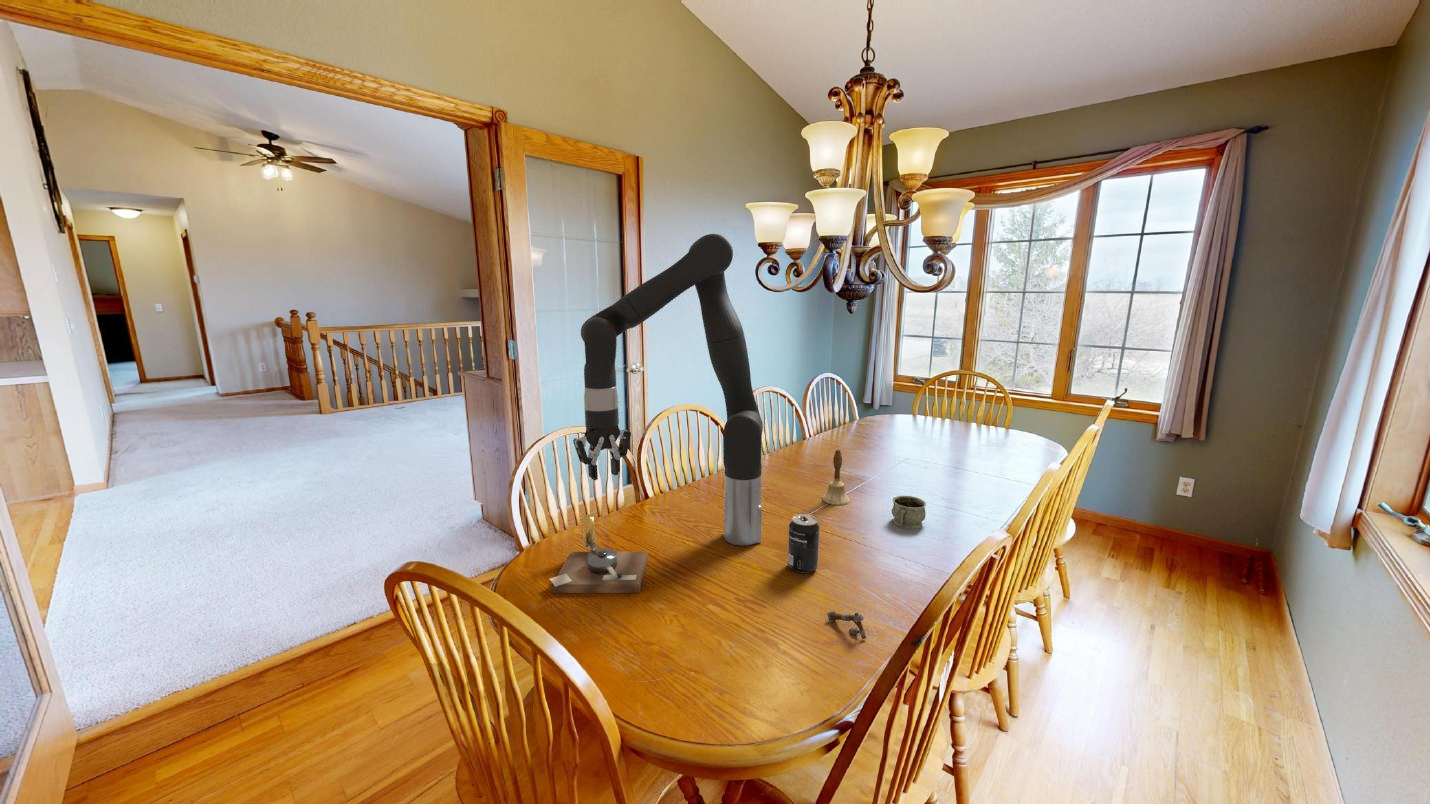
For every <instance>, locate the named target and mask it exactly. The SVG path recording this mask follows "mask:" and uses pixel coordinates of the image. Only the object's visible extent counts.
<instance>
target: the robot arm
mask: <svg viewBox="0 0 1430 804" xmlns="http://www.w3.org/2000/svg"><path fill="white" fill-rule="evenodd" d="M688 249H689V250H688V252H687V253H686V254H685V255H684V256H683V257H682V258H680V259H679V260H677V261H676V262H675V263H674V264H672V265H670V266H669V267H668V268H666V269H665V270H663V271H662V272H660V273H658V274H657V275H655V276H654V277H652V278H650V279H648V280H647V281H645V282H643V283H641V284H640V285H638V286H637V287H635V288H634V289H632V290H631V291H630V292H628V293H626V294H625V295H623V296H622V297H621V298H619V299H618V300H617V301H616V302H614V303H613V304H612V305H610V306H608V307H606V308H604V309H602V310H600V311H599V312H597V313H596V314H594V315H592V316H590V317H589V318H588V319H587V320H586V321H584V322H583V324H582V325H581V328H580V337H581V340H582V341H583V343H584V354H585V364H584V367H583V376H584V377H583V378H584V379H583V380H584V394H583V402H584V420H585V421H584V425H585V433H584V436H581V437H579V438H577V437H575V438H573V441H572V443H573V446H574V448H575V451H576V454H577V458H578V461H579V462H581V463H583V464H584V465H587V468H588V469H587V470H588V477H589V478H590V479H591V480H593V481H598V478H599V477H598V476H599V475H598V464H597V461H598V457H599V456H600V453H601V451H603V450H605V449H606V450H607V451H608V452H609V455H610V456H611V458H610V472H611V475H613V476H618V475H619V473H620V471H621V465H620V463H621V461H620V460H621V458H623V457H626V456H627V455H628V450H629V446H630V440H631V436H632V432H631V431H630V430H626V429H622V430H621V429H620V428H619V424H620V418H619V395H618V394H619V393H618V390H617V373H616V371H617V370H616V357H617V341H618V340H617V337H619V336H620V335H621V334H623V333H624V332H626V331H627V330H630V329H633V328H637V326H639V325H641V324H642V323H644V322H645V321H646V320H648V319H649V318H650V317H652V316H653V315H655V314H657V312H659V311H660V310H661V309H663V308H665V306H667V305H668V304H669V303H671V302H672V301H673V300H675V299H676V298H677V297H679V296H680V295H681V294H683V293H684V292H686V291H687V290H689V289H691V288H692V287H693V286H694V288H695V290H696V294H697V296H698V299H699V305H700V306H699V307H700V311H701V318H702V323H703V324H702V325H703V328H704V334H705V339H706V340H705V341H706V345H707V350H708V354H709V358H710V359H709V360H710V362H711V363H710V364H711V365H712V368H713V371H714V373H715V375H716V378H717V380H718V383H719V384H720V387H721V389H722V394H723V397H724V402H725V409H726V423H725V424H724V425H723V433H722V434H723V437H722V442H723V443H722V444H723V445H722V448H723V454H722V455H723V467H724V494H723V495H724V500H723V502H724V505H723V506H724V511H723V527H724V528H723V532H724V534H723V538H724V540H725V541H726V542H727V543H729V544H731V545H736V546H740V547H741V546H751V545H754V544H759V543H760V544H761V543H762V517H763V516H762V515H763V513H762V512H763V510H762V509H763V506H762V471H763V470H762V466H763V465H762V438H763V437H762V436H763V431H764V430H763V429H764V426H763V425H764V424H763V420H762V417H761V415H760V414H761V413H760V411H759V409H758V404H757V402H756V397H755V393H754V391H753V386H752V380H751V379H752V378H751V377H752V376H751V368H750V358H749V353H748V347H747V342H746V337H745V333H744V329H743V325H742V322H741V321H740V319H739V315H738V314H737V312H736V309H735V308H734V306H733V303H732V301H731V300H730V297H729V294H728V289H727V283H726V276H725V271H726V270H727V269H728V268H729V267H730V265H731V264H732V261H733V257H734V250H733V246H732V244H731V242H730V241H729V239H728V238H726V236H723V235H722V234H719V233H708V234H705V235H703V236H701V237H700V238H699V239H696V240H695V241H694V242H693V243H692V244H691V246H690V247H689V248H688ZM618 438H619V444H618V445H617V440H618ZM586 442H587V443H588V444H589V446H588V449H587V451H586V448H585V447H586ZM587 452H588V454H587Z"/></svg>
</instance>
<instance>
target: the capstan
mask: <svg viewBox="0 0 1430 804" xmlns="http://www.w3.org/2000/svg"><path fill="white" fill-rule="evenodd" d="M595 532H596V531H595V515H594V514H586V515H583V516H582V534H583V546H584V547H585V548H588V550H589V552H590V553H589V554H588V556H587V558H588V569H589V570H590V571H592V572H595V573H605V572H609V574H610V575H611V576H612V577H613V576H616V572H615V571H614V569H615V568H616V567H617V552H618V551H616V550H614V549H612V548H600V547H599V546H598V545H597V543H596V533H595Z"/></svg>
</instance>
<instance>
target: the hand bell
mask: <svg viewBox="0 0 1430 804" xmlns="http://www.w3.org/2000/svg"><path fill="white" fill-rule="evenodd" d="M832 463H833V467H834V476H833V480H831V481H829V484H828V488H827V490H826V491H827V492H826V493H825V494H823V495H822V498H821V499H822V501H823V502H824V503H826V504H827V505H828V504H829V505H832V506H833V505H834V506H845V505H849V504H850V502H851V499H850V498H849V496H848V495H847V493H846V490H845V483H844V482H843V481H841V469H842V464H843V456H842V452H841V449H836V450H835V452H834V455H833V462H832Z"/></svg>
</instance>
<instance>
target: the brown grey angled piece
mask: <svg viewBox="0 0 1430 804" xmlns="http://www.w3.org/2000/svg"><path fill="white" fill-rule="evenodd" d="M826 616H827V619H828V623H833V622H835V621H842V622H851V621H852V622H853V623H854V624H855V625H856V627H851V628H849V629H848V633H850V635H854V636H856V635H857V636H858V634H860V637H861V639H862V640H864V639H865V640H866V638H867V637H866V636H867V635H866V631H865V629H864V626H863V624H862V621H863V620H864V619H865V618H864V616H863V615H862V614H859V613H858V612H855V613H854V615H853V614H851V613H850V614H849V613H847V614H846V613H843V614H841V613H837V612H836V611H835V610H834V609H833V610H830V611H829V612H827V613H826Z"/></svg>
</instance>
